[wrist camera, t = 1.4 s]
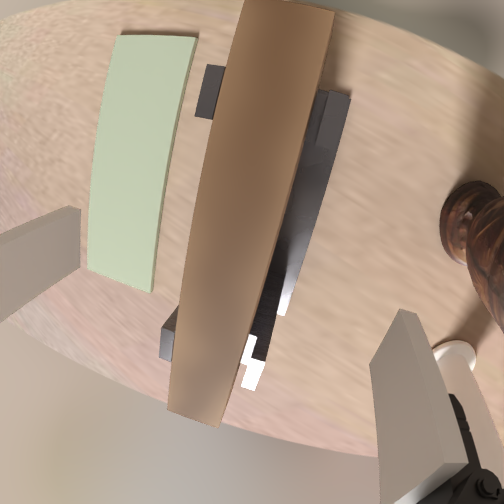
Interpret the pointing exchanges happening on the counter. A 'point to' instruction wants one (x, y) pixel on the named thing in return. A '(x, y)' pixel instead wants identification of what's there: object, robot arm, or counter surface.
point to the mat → (135, 154)
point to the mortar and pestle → (478, 240)
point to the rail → (244, 195)
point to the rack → (294, 221)
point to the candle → (471, 402)
